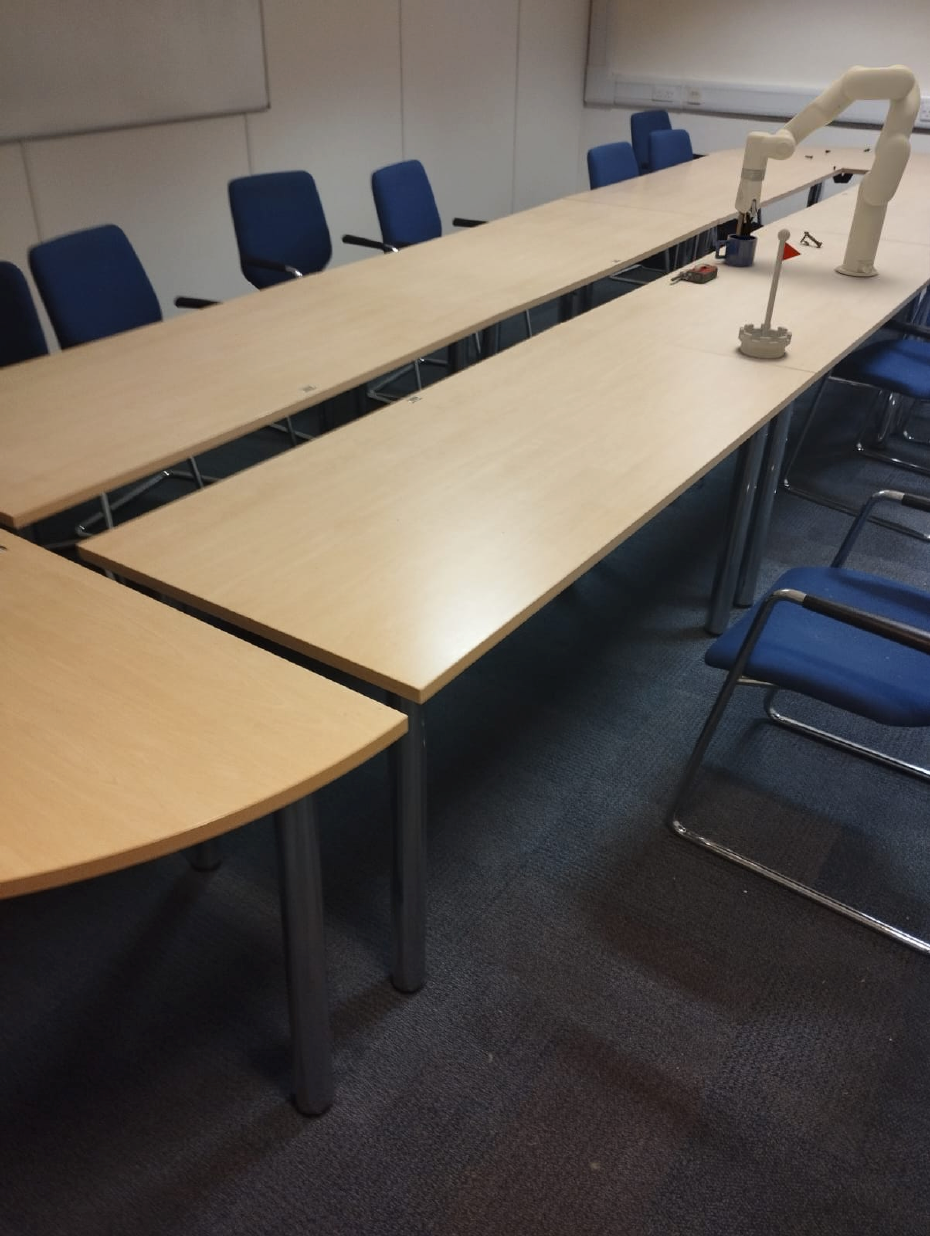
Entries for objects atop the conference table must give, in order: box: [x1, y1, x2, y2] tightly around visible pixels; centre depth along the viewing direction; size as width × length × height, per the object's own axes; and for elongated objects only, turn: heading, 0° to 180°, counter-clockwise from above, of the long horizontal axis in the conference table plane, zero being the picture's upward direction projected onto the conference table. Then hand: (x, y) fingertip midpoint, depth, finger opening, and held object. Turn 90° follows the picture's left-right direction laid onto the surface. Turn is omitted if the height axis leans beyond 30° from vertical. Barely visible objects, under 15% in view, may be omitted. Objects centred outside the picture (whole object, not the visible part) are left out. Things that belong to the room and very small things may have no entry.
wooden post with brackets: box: [799, 230, 823, 248], centre depth 354 cm, size 2×8×4 cm, turn 45°
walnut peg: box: [735, 213, 749, 237], centre depth 324 cm, size 3×3×7 cm
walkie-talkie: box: [670, 262, 719, 284], centre depth 309 cm, size 9×4×20 cm
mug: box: [714, 233, 759, 268], centre depth 328 cm, size 13×10×8 cm
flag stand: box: [737, 228, 802, 359], centre depth 243 cm, size 13×13×30 cm
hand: (742, 233), depth 325 cm, fingers closed on walnut peg, 3 cm apart
